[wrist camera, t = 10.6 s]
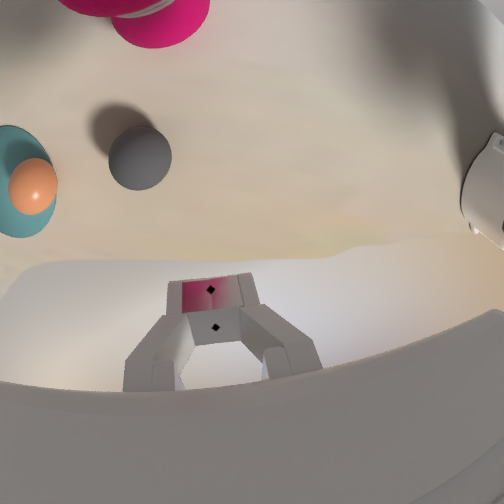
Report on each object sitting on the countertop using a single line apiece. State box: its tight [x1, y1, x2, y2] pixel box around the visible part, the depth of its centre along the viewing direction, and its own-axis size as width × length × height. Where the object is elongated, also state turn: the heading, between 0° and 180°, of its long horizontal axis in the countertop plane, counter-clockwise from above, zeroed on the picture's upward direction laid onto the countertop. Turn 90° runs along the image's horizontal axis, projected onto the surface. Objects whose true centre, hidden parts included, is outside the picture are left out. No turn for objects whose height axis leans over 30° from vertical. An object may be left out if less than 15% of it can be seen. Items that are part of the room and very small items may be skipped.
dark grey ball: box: [109, 127, 172, 190], centre depth 22 cm, size 6×6×6 cm
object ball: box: [8, 158, 58, 215], centre depth 21 cm, size 6×6×6 cm
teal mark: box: [0, 126, 56, 238], centre depth 22 cm, size 14×14×1 cm
